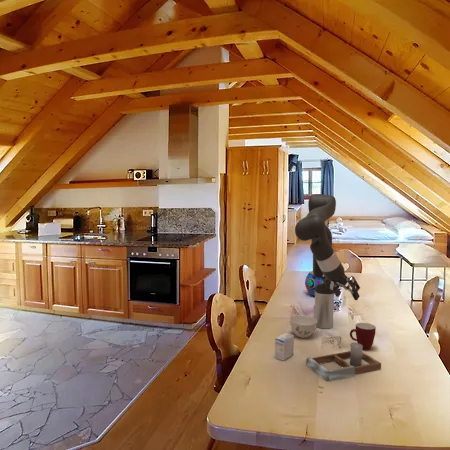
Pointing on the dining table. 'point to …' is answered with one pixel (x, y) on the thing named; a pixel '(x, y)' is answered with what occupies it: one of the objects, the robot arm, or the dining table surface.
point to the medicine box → (284, 346)
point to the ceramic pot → (312, 282)
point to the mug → (364, 334)
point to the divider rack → (341, 372)
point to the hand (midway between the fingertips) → (347, 296)
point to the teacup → (303, 325)
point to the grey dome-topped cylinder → (356, 354)
